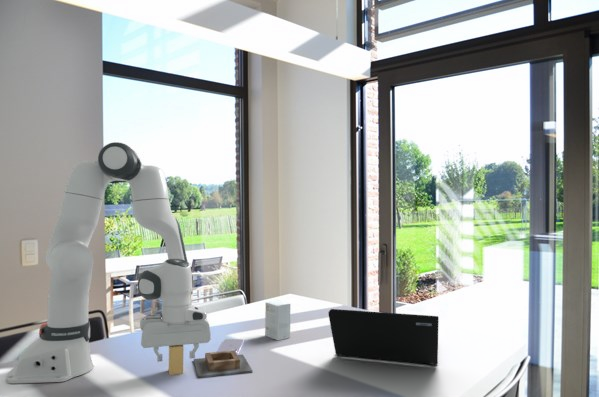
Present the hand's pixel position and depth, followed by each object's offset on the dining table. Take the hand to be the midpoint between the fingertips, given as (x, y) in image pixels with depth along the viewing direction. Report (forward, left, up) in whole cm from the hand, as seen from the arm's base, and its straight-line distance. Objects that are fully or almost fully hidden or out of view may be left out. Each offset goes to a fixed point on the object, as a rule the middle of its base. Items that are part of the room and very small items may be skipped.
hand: (176, 359), depth 138 cm
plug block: (0, 0, -4) cm, 4 cm away
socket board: (+14, 0, -4) cm, 14 cm away
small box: (+39, +26, -4) cm, 47 cm away
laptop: (+68, -5, -4) cm, 69 cm away
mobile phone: (+20, +19, -4) cm, 28 cm away
